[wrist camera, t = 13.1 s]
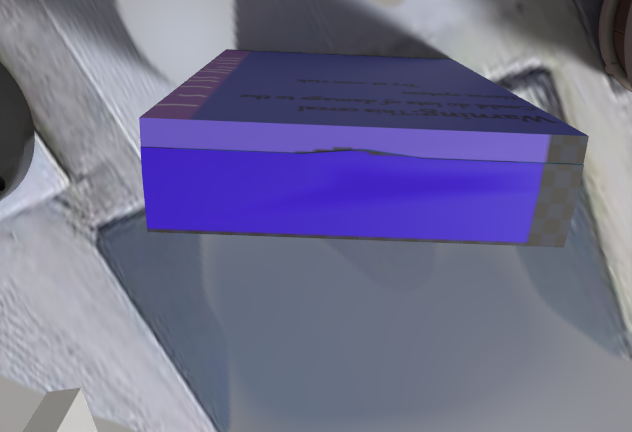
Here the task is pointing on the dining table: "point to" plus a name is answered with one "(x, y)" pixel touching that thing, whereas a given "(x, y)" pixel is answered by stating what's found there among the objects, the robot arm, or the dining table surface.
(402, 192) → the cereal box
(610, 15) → the flowerpot
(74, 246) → the dining table surface
